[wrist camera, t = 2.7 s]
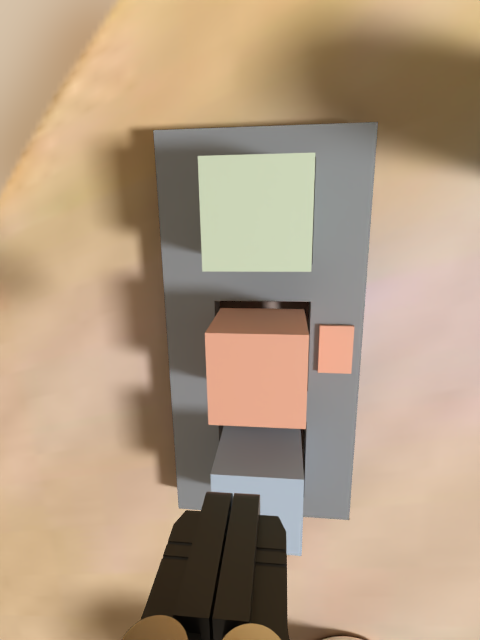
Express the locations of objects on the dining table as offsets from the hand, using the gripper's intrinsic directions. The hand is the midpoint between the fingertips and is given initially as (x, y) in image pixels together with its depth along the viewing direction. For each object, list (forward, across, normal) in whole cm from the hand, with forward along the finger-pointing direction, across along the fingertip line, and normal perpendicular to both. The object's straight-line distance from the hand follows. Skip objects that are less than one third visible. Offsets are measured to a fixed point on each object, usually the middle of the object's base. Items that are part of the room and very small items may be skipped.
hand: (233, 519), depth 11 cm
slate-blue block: (+14, 0, +8) cm, 16 cm away
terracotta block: (+14, 0, 0) cm, 14 cm away
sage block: (+14, 0, -8) cm, 16 cm away
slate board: (+16, 0, 0) cm, 16 cm away
